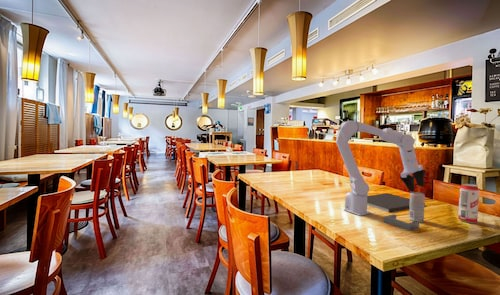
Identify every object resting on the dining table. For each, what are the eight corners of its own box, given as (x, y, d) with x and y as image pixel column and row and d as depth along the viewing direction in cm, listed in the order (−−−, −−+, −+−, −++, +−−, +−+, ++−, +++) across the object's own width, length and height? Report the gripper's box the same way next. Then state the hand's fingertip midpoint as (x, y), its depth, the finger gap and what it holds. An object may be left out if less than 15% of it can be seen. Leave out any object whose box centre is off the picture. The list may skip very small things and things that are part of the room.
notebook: (388, 213, 117) (424, 206, 129) (388, 208, 117) (425, 202, 129) (352, 201, 137) (387, 196, 149) (353, 197, 137) (387, 193, 148)
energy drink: (420, 219, 108) (422, 192, 108) (425, 223, 103) (427, 195, 103) (407, 217, 110) (408, 191, 109) (411, 222, 105) (412, 194, 104)
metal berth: (384, 222, 104) (384, 216, 104) (393, 219, 107) (393, 214, 107) (409, 231, 95) (410, 224, 95) (419, 227, 98) (419, 221, 98)
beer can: (454, 219, 108) (456, 183, 107) (463, 218, 110) (465, 182, 109) (471, 224, 102) (474, 186, 101) (480, 222, 104) (483, 185, 103)
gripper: (409, 163, 105) (417, 193, 105) (427, 155, 112) (434, 183, 112) (393, 164, 111) (400, 192, 111) (411, 156, 118) (417, 183, 118)
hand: (416, 188), depth 112 cm, fingers open, 7 cm apart
